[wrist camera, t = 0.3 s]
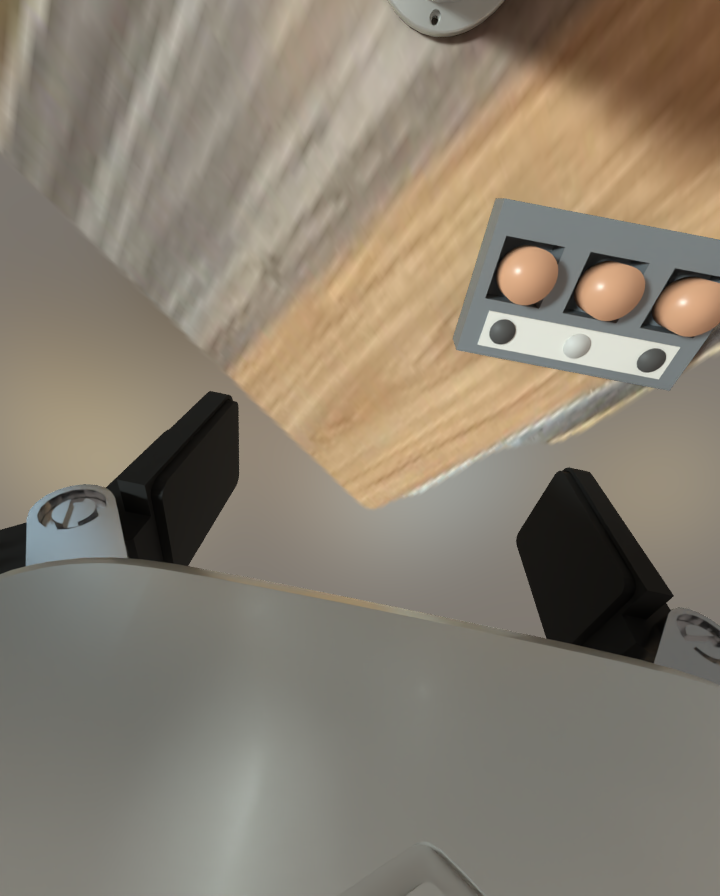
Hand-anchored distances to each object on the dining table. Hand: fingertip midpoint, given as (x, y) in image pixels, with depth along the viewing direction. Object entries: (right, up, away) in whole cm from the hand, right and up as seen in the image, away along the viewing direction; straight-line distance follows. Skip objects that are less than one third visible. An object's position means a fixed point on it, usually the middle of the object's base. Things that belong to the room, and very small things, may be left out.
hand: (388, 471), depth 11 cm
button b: (+23, +17, +25) cm, 38 cm away
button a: (+15, +18, +25) cm, 35 cm away
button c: (+31, +15, +25) cm, 43 cm away
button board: (+23, +17, +29) cm, 41 cm away
